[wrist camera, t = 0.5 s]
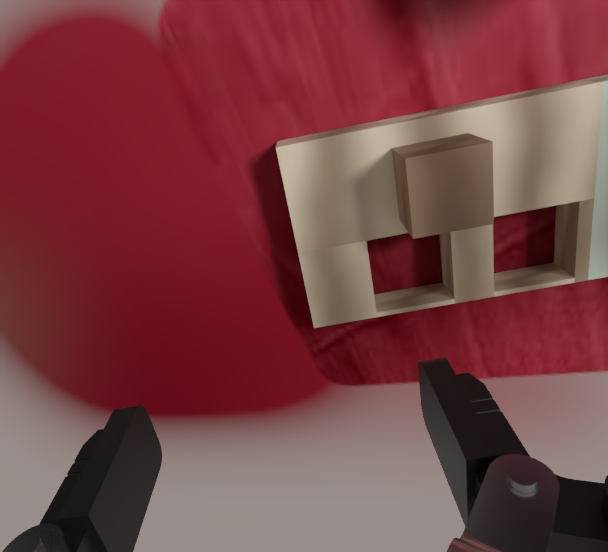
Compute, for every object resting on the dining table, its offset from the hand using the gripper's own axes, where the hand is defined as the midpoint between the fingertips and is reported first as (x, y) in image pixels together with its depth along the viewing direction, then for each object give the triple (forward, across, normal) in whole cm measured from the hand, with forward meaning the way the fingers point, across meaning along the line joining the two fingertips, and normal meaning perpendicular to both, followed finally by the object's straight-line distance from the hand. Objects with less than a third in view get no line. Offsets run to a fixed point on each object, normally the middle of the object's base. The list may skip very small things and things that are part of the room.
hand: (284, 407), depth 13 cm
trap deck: (+23, -15, +2) cm, 28 cm away
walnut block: (+20, -10, -1) cm, 22 cm away
